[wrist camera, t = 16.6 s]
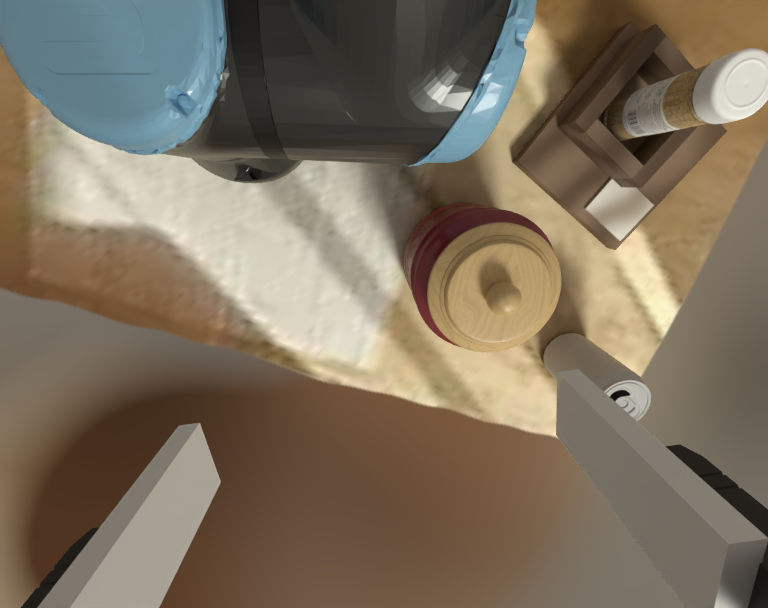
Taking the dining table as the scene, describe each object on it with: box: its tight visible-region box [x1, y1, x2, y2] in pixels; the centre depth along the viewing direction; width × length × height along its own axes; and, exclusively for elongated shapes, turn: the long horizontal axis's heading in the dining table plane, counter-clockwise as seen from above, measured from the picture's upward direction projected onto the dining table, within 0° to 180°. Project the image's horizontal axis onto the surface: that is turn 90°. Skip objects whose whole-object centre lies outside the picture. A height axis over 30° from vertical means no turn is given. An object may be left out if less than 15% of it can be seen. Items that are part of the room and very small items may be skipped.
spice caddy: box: [513, 22, 727, 250], centre depth 38 cm, size 16×16×5 cm
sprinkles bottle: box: [602, 48, 768, 141], centre depth 32 cm, size 5×5×14 cm
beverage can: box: [543, 333, 651, 421], centre depth 43 cm, size 6×6×12 cm
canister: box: [404, 203, 561, 352], centre depth 36 cm, size 13×13×18 cm
